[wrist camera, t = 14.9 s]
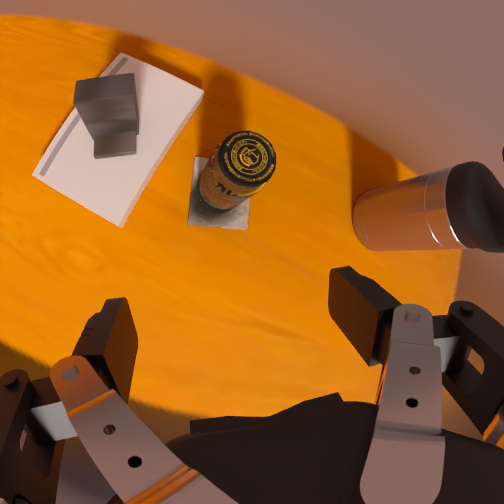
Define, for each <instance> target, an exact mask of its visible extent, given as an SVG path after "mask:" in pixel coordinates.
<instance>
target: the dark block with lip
mask: <svg viewBox="0 0 504 504" xmlns="http://www.w3.org/2000/svg"><path fill="white" fill-rule="evenodd" d="M73 103H74V105H75V107H76V109H77V111H78V113H79V115H80V117H81V119H82V121H83V122H84V124H85V126H86V128H87V130H88V132H89V134H90V135H91V137H92V139H93V140H94V158H95V159H102V158H110V157H118V156H126V155H135V154H136V135H139V111H138V103H137V94H136V85H135V75H134V73H127V74H118V75H111V76H104V77H97V78H91V79H85V80H79V81H76V86H75V93H74V101H73Z"/></svg>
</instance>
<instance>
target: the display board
mask: <svg viewBox="0 0 504 504" xmlns="http://www.w3.org/2000/svg"><path fill="white" fill-rule="evenodd" d="M127 73H134V75H135V85H136V94H137V103H138V111H139V135H136V154H135V155H126V156H118V157H110V158H102V159H95V158H94V140H93V139H92V137H91V135H90V134H89V132H88V130H87V128H86V126H85V124H84V122H83V121H82V119H81V117H80V115H79V113H78V111H77V109H76V107H75V108H74V110H73V111H72V112H71V114H70V115H69V117H68V118H67V119H66V121H65V122H64V124H63V125H62V127H61V128H60V130H59V131H58V133H57V134H56V136H55V137H54V139H53V140H52V142H51V144H50V145H49V147H48V148H47V150H46V152H45V153H44V155H43V157H42V158H41V160H40V162H39V163H38V165H37V167H36V169H35V170H34V172H33V174H32V175H33V176H35V177H36V178H38V179H39V180H41V181H42V182H44V183H45V184H47V185H49V186H50V187H52V188H54V189H55V190H57V191H59V192H60V193H62V194H64V195H65V196H67V197H69V198H70V199H72V200H74V201H76V202H77V203H79V204H81V205H82V206H84V207H86V208H87V209H89V210H91V211H93V212H94V213H96V214H98V215H100V216H101V217H103V218H105V219H107V220H108V221H110V222H112V223H114V224H115V225H117V226H119V227H121V228H123V226H124V224H125V222H126V221H127V219H128V217H129V215H130V213H131V211H132V210H133V208H134V206H135V204H136V202H137V201H138V199H139V197H140V195H141V194H142V192H143V190H144V189H145V187H146V185H147V184H148V182H149V180H150V178H151V177H152V175H153V174H154V172H155V170H156V169H157V167H158V165H159V164H160V162H161V161H162V159H163V157H164V156H165V154H166V153H167V151H168V150H169V148H170V147H171V145H172V144H173V142H174V141H175V139H176V138H177V136H178V135H179V133H180V132H181V130H182V129H183V127H184V126H185V124H186V123H187V121H188V120H189V119H190V117H191V116H192V114H193V113H194V111H195V110H196V109H197V107H198V106H199V104H200V103H201V101H202V98H203V94H204V91H203V90H201V89H199V88H197V87H195V86H193V85H192V84H190V83H188V82H186V81H184V80H181V79H179V78H177V77H175V76H173V75H171V74H169V73H167V72H165V71H163V70H161V69H158V68H156V67H154V66H152V65H150V64H147V63H145V62H143V61H141V60H138V59H136V58H134V57H131V56H129V55H126V54H124V53H122V52H121V53H120V54H119V55H118V56H117V57H116V58H115V59H114V60H113V62H112V63H111V64H110V65H109V66H108V67H107V68H106V69H105V71H104V72H103V73H102V74H101V75H100V77H104V76H111V75H118V74H127Z"/></svg>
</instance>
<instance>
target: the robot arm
mask: <svg viewBox="0 0 504 504" xmlns="http://www.w3.org/2000/svg"><path fill="white" fill-rule="evenodd" d="M502 154H503V161H504V147H503V152H502ZM353 227H354V230H355V233H356V235H357V237H358V239H359V240H360V241H361V243H362V244H363V245H364V246H365V247H367V248H368V249H370V250H374V251H405V250H441V249H469V248H479V249H481V250H484V251H487V252H496V253H504V188H503V187H502V186H501V184H500V183H499V182H498V181H497V179H496V178H495V176H494V175H493V173H492V172H491V171H490V170H489V169H488V168H487V167H486V166H485V165H483V164H481V163H479V162H473V161H472V162H466V163H463V164H459V165H456V166H452V167H448V168H445V169H441V170H438V171H435V172H432V173H428V174H424V175H421V176H417V177H414V178H410V179H407V180H403V181H400V182H396V183H393V184H390V185H386V186H382V187H379V188H376V189H372V190H369V191H366V192H364V193H363V194H362V195H360V196H359V198H358V199H357V201H356V203H355V205H354V209H353ZM328 308H329V313H330V315H331V317H332V319H333V320H334V321H335V323H336V324H337V325H338V327H339V328H340V329H341V331H342V332H343V333H344V334H345V336H346V337H347V338H348V340H349V341H350V342H351V344H352V345H353V346H354V348H355V349H356V350H357V352H358V353H359V354H360V356H361V357H362V358H363V359H364V361H365V362H366V363H367V365H368V366H369V367H370V366H373V365H376V364H379V363H381V364H382V365H383V366H382V370H381V374H380V379H379V384H378V389H377V393H376V397H375V402H374V404H372V403H366V402H358V401H345V402H343V400H342V398H341V396H340V395H339V393H338V392H337V393H333V394H329V395H326V396H322V397H318V398H314V399H311V400H307V401H303V402H301V403H299V404H297V405H295V406H292V407H290V408H288V409H286V410H283V411H281V412H279V413H277V414H274V415H272V416H268V417H241V416H224V417H217V418H209V419H200V420H191V421H190V432H187V433H184V434H182V435H179V436H177V437H175V438H173V439H171V440H169V441H168V442H166V443H165V444H163V443H162V442H161V441H160V440H159V439H158V438H157V437H156V436H155V435H154V434H153V433H152V432H151V431H150V430H149V429H148V428H147V426H146V425H145V424H144V423H143V422H142V421H141V420H140V419H139V418H138V417H137V416H136V415H135V413H134V412H133V411H132V410H131V409H130V408H129V407H128V399H129V393H130V387H131V381H132V376H133V370H134V365H135V359H136V354H137V349H138V337H137V332H136V328H135V325H134V322H133V318H132V315H131V311H130V308H129V304H128V301H127V299H126V298H125V297H122V298H114V299H107V300H106V301H105V303H104V306H103V308H102V310H101V312H100V313H95V314H94V315H93V316H92V317H91V318H90V319H89V320H88V321H87V323H86V325H85V327H84V330H83V332H82V334H81V337H80V338H79V340H78V342H77V344H76V347H75V349H74V351H73V353H72V355H71V356H69V357H65V358H63V359H61V360H59V361H58V362H57V363H55V364H54V366H53V367H52V368H51V370H50V376H49V377H46V378H41V379H38V380H33V381H31V379H30V378H29V375H28V374H27V372H25V371H24V370H21V369H15V370H12V371H9V372H7V373H6V374H4V375H3V376H1V377H0V504H55V503H56V494H57V485H58V479H59V472H60V466H61V460H62V453H63V449H64V443H65V439H66V438H71V437H75V436H79V438H80V440H81V441H82V443H83V445H84V446H85V448H86V450H87V451H88V453H89V454H90V456H91V458H92V459H93V461H94V462H95V464H96V465H97V467H98V468H99V470H100V471H101V473H102V474H103V475H104V477H105V478H106V480H107V481H108V482H109V484H110V485H111V487H112V488H113V489H114V491H116V494H115V495H114V496H113V497H112V498H111V500H110V501H108V503H107V504H504V326H502V325H501V324H500V323H499V322H497V321H496V320H495V319H494V318H492V317H491V316H490V315H488V314H487V313H486V312H485V311H484V310H482V309H481V308H480V307H478V306H477V305H475V304H473V303H471V302H467V301H455V302H453V303H451V304H450V307H449V311H448V314H447V315H439V316H432V314H431V312H430V311H429V310H428V309H426V308H425V307H423V306H420V305H416V304H403V305H402V304H401V303H400V302H399V301H398V300H397V299H395V298H394V297H393V296H392V295H391V294H389V293H388V292H386V290H385V289H383V288H382V287H380V285H379V284H377V283H376V282H375V281H374V280H372V279H370V278H367V277H365V276H363V275H362V276H361V275H360V274H359V273H357V272H356V271H355V270H354V269H353V268H351V267H350V266H346V267H340V268H334V269H331V271H330V275H329V297H328ZM471 349H474V350H475V351H476V352H477V353H478V354H479V355H480V356H481V357H482V359H483V361H484V366H485V367H484V372H483V374H482V375H481V374H480V373H479V372H478V371H477V369H475V368H474V366H473V365H472V364H471V363H470V362H469V361H468V360H467V359H468V357H469V354H470V352H471ZM442 385H443V386H444V387H445V388H446V390H447V391H448V392H449V393H450V395H451V396H452V397H453V398H454V400H455V401H456V402H457V403H458V404H459V406H460V407H461V408H462V410H463V411H464V412H465V414H466V415H467V416H468V417H469V418H470V420H471V421H472V423H473V424H474V425H475V426H476V428H477V429H478V430H479V432H480V433H481V434H482V436H483V439H484V441H480V440H477V439H473V438H470V437H467V436H463V435H460V434H457V433H454V432H451V431H448V430H445V429H442V428H441V422H442V421H441V420H442ZM23 430H24V431H25V432H26V433H27V436H26V439H25V442H24V446H23V449H22V452H21V450H20V437H21V434H22V431H23Z"/></svg>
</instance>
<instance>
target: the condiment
mask: <svg viewBox="0 0 504 504" xmlns="http://www.w3.org/2000/svg"><path fill="white" fill-rule="evenodd" d="M275 168H276V153H275V151H274V149H273V147H272V144H271V143H270V142H269V141H268V140H267V139H266V138H265V137H263V136H262V135H260V134H258V133H254V132H251V131H241V132H236V133H234V134H231V135H230V136H228V137H227V138H226V139H225V140H224V141H223V142H222V143H220V144H219V145H218V146H217V147H216V148H215V149H214V151H213V152H212V154H211V156H210V158H203V157H195V161H194V169H193V178H192V188H191V198H190V207H189V219H188V225H197V226H208V227H218V228H230V229H240V230H248V216H249V201H250V197H251V196H253V195H254V194H256V193H257V192H258V191H260V190H261V189H262V188H264V186H265V184H266V183H267V181H268V180H269V179H270V178H271V176H272V174H273V173H274V171H275ZM200 200H201V201H200ZM232 209H234V210H233V211H232ZM231 211H232V213H231V214H230V212H231Z"/></svg>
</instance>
